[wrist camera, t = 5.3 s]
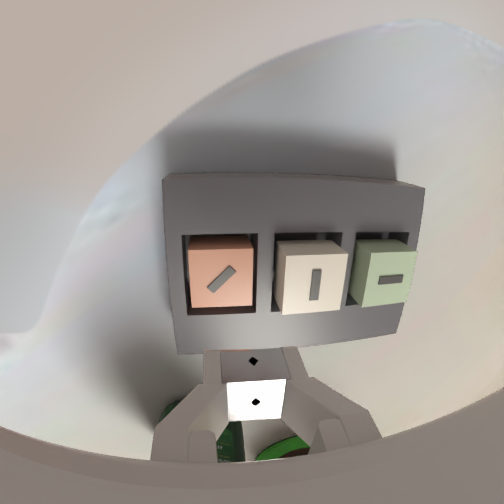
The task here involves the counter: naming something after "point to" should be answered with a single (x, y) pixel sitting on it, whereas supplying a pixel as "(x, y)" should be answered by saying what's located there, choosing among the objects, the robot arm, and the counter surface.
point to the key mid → (309, 276)
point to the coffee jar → (223, 440)
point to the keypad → (264, 244)
